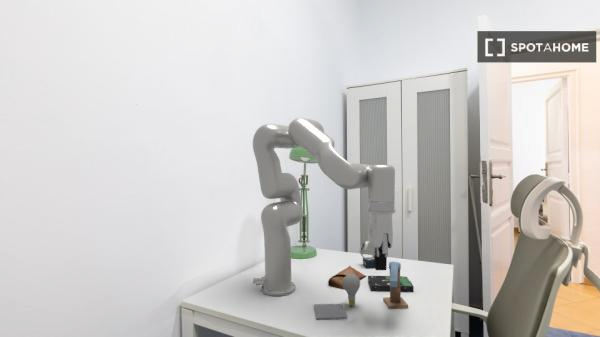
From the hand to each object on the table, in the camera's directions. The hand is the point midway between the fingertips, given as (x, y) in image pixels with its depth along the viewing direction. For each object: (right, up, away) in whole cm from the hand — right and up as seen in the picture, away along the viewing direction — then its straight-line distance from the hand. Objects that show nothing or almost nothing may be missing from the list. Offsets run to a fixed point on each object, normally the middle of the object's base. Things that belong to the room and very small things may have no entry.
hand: (380, 269), depth 92 cm
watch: (+7, -14, +46) cm, 49 cm away
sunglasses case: (-5, -15, +30) cm, 33 cm away
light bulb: (-7, -14, +8) cm, 18 cm away
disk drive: (+10, -15, +23) cm, 29 cm away
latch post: (+7, -14, +8) cm, 18 cm away
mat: (-14, -14, +4) cm, 21 cm away
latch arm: (+5, -2, +2) cm, 5 cm away
